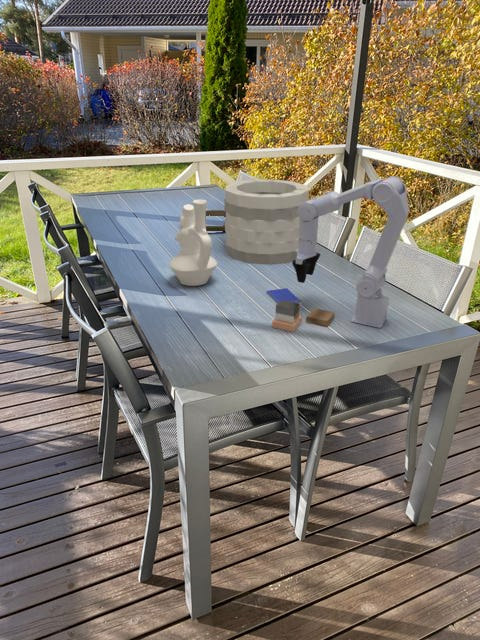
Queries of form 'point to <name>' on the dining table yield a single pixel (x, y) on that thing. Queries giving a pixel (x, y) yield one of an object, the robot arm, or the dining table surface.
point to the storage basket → (263, 220)
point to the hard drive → (282, 296)
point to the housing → (287, 311)
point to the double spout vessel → (193, 246)
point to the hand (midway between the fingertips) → (305, 278)
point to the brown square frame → (215, 213)
